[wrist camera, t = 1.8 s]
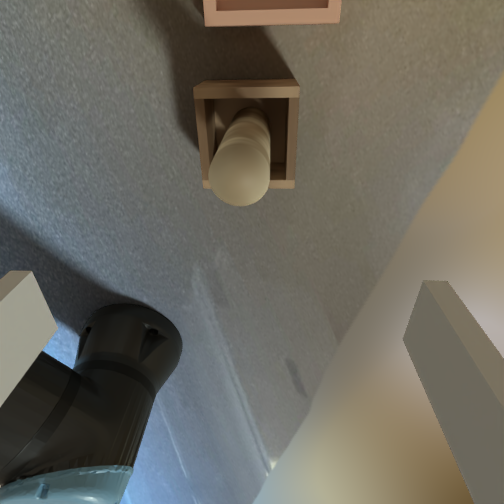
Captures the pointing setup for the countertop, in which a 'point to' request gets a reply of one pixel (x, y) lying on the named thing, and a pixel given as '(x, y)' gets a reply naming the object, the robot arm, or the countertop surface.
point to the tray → (270, 12)
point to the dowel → (243, 159)
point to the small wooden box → (241, 96)
